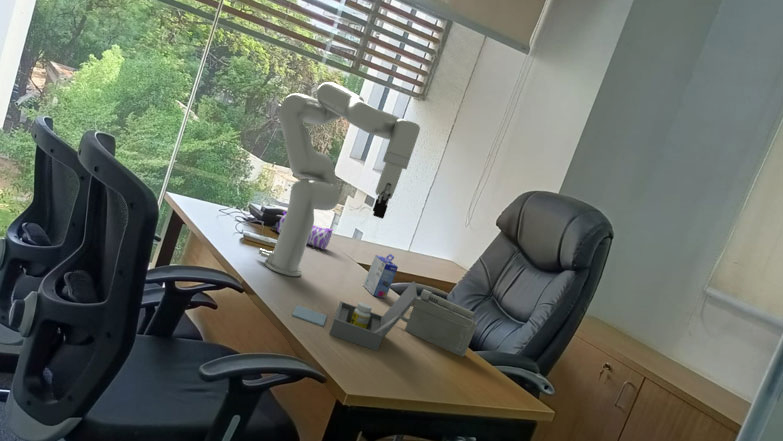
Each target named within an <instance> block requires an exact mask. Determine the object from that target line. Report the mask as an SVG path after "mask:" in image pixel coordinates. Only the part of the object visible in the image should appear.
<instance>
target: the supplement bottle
mask: <svg viewBox="0 0 783 441" xmlns="http://www.w3.org/2000/svg"><path fill="white" fill-rule="evenodd" d="M356 307H357V308H356V309H355V310H354V313H353V316H352V318H351V321H349V323H350V324H353V325H356V326H359V327H362V328H364V329H367V327H366V326H367V324H368V321H369V318H370V312H372V309H373V306H371V305H370V304H369V303H365V302H361V301H358V303H357V306H356Z"/></svg>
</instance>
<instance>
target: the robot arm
mask: <svg viewBox="0 0 783 441" xmlns="http://www.w3.org/2000/svg"><path fill="white" fill-rule="evenodd" d="M315 96H316V98H315V97H312V96H309V95H307V94H303V93H291V94H289V95H287V96H286V97H285V98H284V100H283V101H282V102H281V104H280V108H279V116H278V118H279V123H280V124H279V125H280V127H281V131H282V132H281V133H282V135H283V137H284V138H283V139H284V141H285V148H286V149H285V150H286V153H287V154H286V155H287V158H288V163H289V167H290V171H291V173H292V174H293V175H294V176H297V177H300V178H301V179H298V180H297V181H295V182H294V184H292V187H291V189H290V190H291V191H290V194H289V202H288V207H287V211H286V212H285V213H286V216H285V219H284V222H283V225H282V228H281V231H280V233H278V238H277V240H276V243H275V245H274V246H275V247H274V249H273V250H269V251H268V250H266V249H264V248H260V249H259V251H258V254H259V255H260V256H261V257H263V258H267V259H265V261H264V266H266V267H267V268H268V269H269V270H271V271H274V272H276V273H278V274H281V275H285V276H290V277H299V276H301V275H302V273H303V272H302V270H301V268H299V267H300V264H301V261H302V259H303V256H304V253H305V250H306V247H307V245H308V244H307V242H308V239H309V236H310V233H311V230H312V227H313V225H314V223H315V222H314V221H315V213H314V212H315V211H314V210H317V211H331V210H333V209H335V208H336V207H337V206H338V204H339V201H340V190H339V184H338V181H337V176H336V171H335V167H334V163H333V161H332V159H331V158H330V157H329V155H327V154H325V152H324V153H323V152H321V151H316V150H315V149H314V147H313V144H312V139H311V135H310V133H309V130H308V129H307V127H306V126H305V124H304V122H305V123H308V124H312V125H315V126H324V125H327V124H330V123H332V122H334V121H336V120H338V119H341V118H342V119H344V120H346V121H347V122H348V123H350V125H352V126H354V127H356V128H359V129H360V130H362V131H364V132H366V133H368V134H370V135H372V136H376V137H379V138H383V139H386V140H389V142H388V144H387V147H386V150H385V153H384V156H383V158H382V159H383V160H382V162H383V163H385V164H384V166H383V168H382V170H381V171H382V172H381V174H380V177H379V179H378V183H377V185H376V188H375V195H376V196H377V198H376V200H375V202H374V205H373V208H372V211H373V213H372V214H373V216H374V217H375V218H379V219H384V218H385V215H386V211H387V208H388V204H389V202H390V201H389V200H391V199H392V198H393V195H394V193H395V190H396V188H397V186H398V183H399V180H400V177H401V174H402V171H403V170H407V168H408V166H409V164H410V161H411V157H412V154H413V152H414V148H415V146H416V143H417V140H418V138H419V135H420V131H421V127H420V125H419V124H418V123H416V122H413V121H411V120H407V119H404V118H401V117H398V116H396V115H394V114H391V113H389V112H386V111H384V110H381V109H378V108H376V107H374V106H372V105H369V104H367V103H366V102H365V100H364V98H363V97H362V96H360V95H358V94H357V93H354V91H353V90H351V89H350V88H348V87H346V86H343V85H340V84H338V83H335V82H332V81H331V82H329V81H326V82H323V83H321V84H320V85H319V86H318V87H317V89H316V93H315Z"/></svg>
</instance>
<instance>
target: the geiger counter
mask: <svg viewBox="0 0 783 441" xmlns="http://www.w3.org/2000/svg"><path fill="white" fill-rule="evenodd" d="M411 307H412V310H411V313H410V315H409V317H406V316H404V317H403V319H401V321H403V322H405V323H406V325H405V327H404V331H406V332H408V333H410V334H412V335H414V336H417V337H419V338H420V339H423V340H425V341H427V342H429V343H431V344H432V345H433V344H434V345H436V346H438V347H440V348H442V349H444V350H447V351H448V352H451V353H453V354H455V355H457V356H459V357H462V358H463V357H465V356H466V353H467V351H468V348H469V345H470V344H471V341H472V338H473V335H474V334H475V331H476V329H477V326H478V322H477V317H476V316H475V312H474V311H471V310H470V309H468V308H465V307H463V306H461V305H458V304H456V303H454V302H452V301H449V300H447V299H445V298H443V297H441V296H438V295H436V294H434V293H433V292H432V291H431V290H430V291H429V290H427V289H425V288H424V289H422V291H421V293H420V296H419V297H418V296H417V300H416V301H415V302H414V303H413V305H412V306H411ZM473 318H474V320H473Z"/></svg>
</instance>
